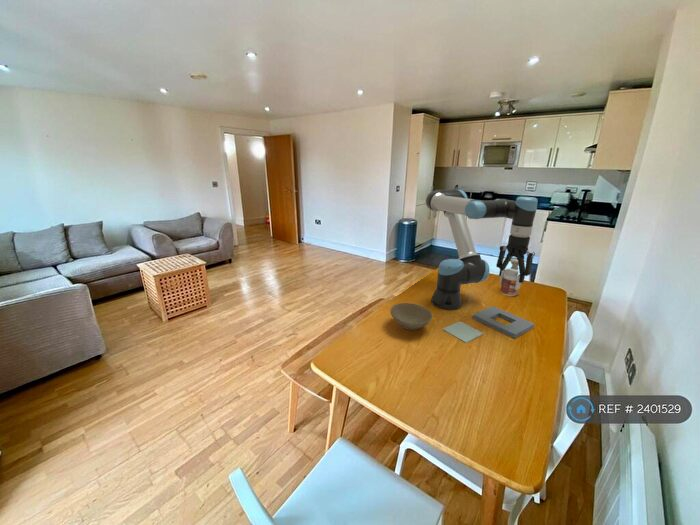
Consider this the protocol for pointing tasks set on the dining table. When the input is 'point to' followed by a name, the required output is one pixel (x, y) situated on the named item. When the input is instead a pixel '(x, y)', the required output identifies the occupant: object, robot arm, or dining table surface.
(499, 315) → the socket block
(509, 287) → the pill bottle
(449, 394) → the dining table surface
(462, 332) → the mat
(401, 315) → the bowl
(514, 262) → the candle holder
